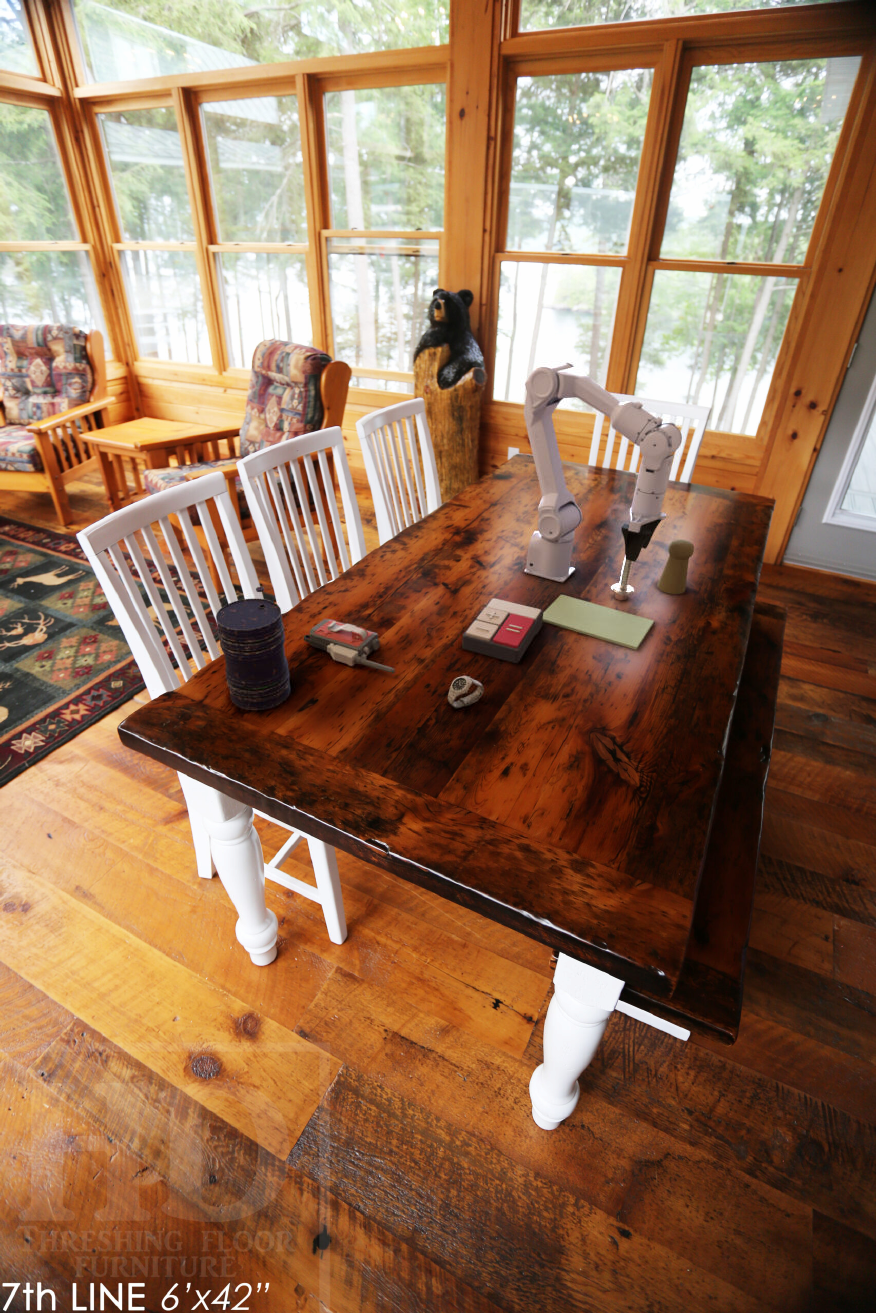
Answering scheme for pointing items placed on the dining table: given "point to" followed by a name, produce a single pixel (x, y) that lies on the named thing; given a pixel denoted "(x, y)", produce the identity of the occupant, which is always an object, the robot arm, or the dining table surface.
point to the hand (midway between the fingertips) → (636, 553)
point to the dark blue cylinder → (254, 652)
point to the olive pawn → (676, 567)
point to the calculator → (503, 630)
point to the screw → (623, 583)
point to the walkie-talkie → (346, 643)
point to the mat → (598, 621)
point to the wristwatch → (464, 691)
